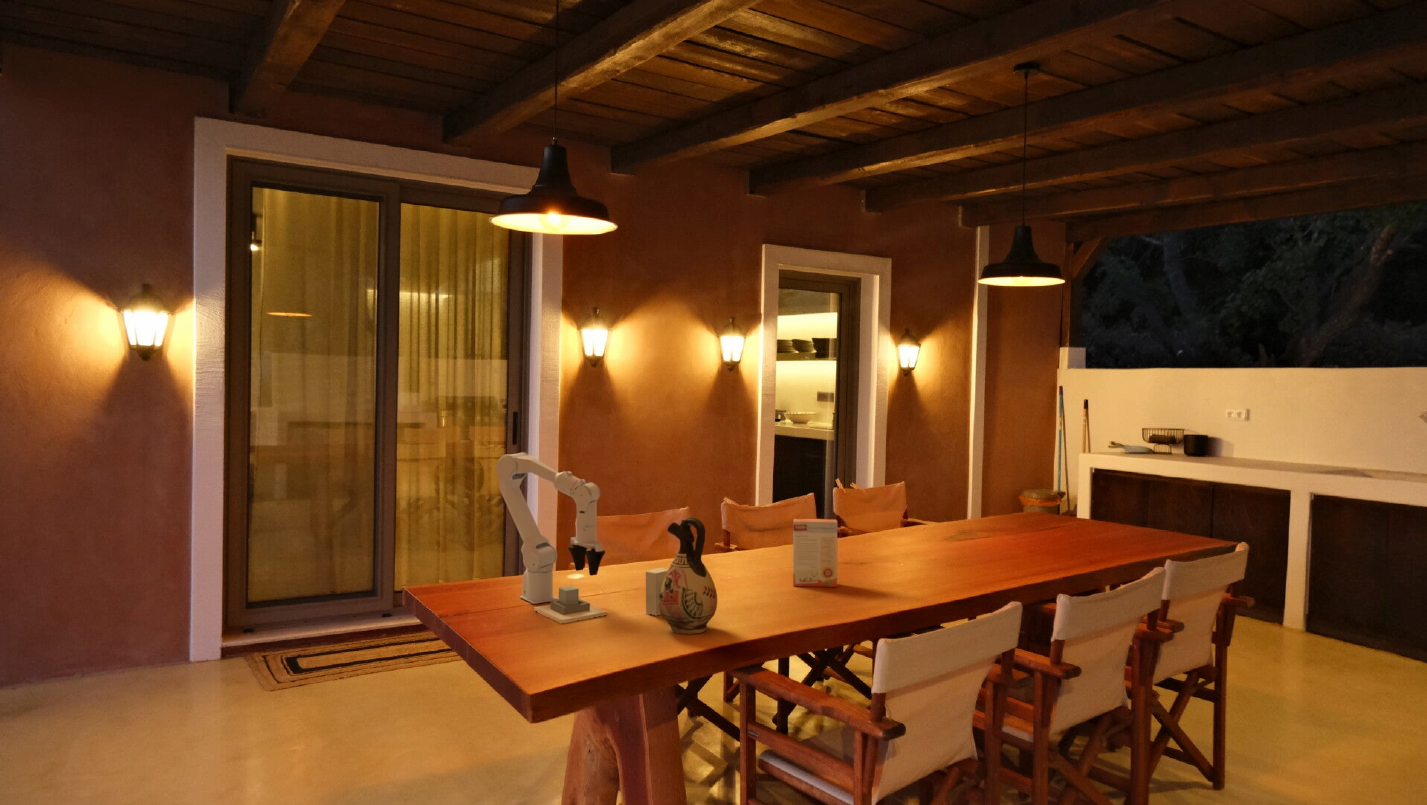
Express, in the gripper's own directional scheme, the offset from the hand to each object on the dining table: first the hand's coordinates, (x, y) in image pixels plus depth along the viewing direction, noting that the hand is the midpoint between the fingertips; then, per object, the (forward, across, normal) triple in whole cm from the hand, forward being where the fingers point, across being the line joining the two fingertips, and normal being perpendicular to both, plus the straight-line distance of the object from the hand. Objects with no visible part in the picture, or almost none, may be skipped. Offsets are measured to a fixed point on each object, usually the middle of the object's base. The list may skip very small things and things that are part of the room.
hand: (586, 572), depth 256 cm
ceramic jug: (+10, +38, +8) cm, 40 cm away
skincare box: (+10, +19, +12) cm, 24 cm away
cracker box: (+10, +23, +70) cm, 75 cm away
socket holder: (+9, +5, -8) cm, 13 cm away
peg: (+8, +5, -9) cm, 13 cm away
